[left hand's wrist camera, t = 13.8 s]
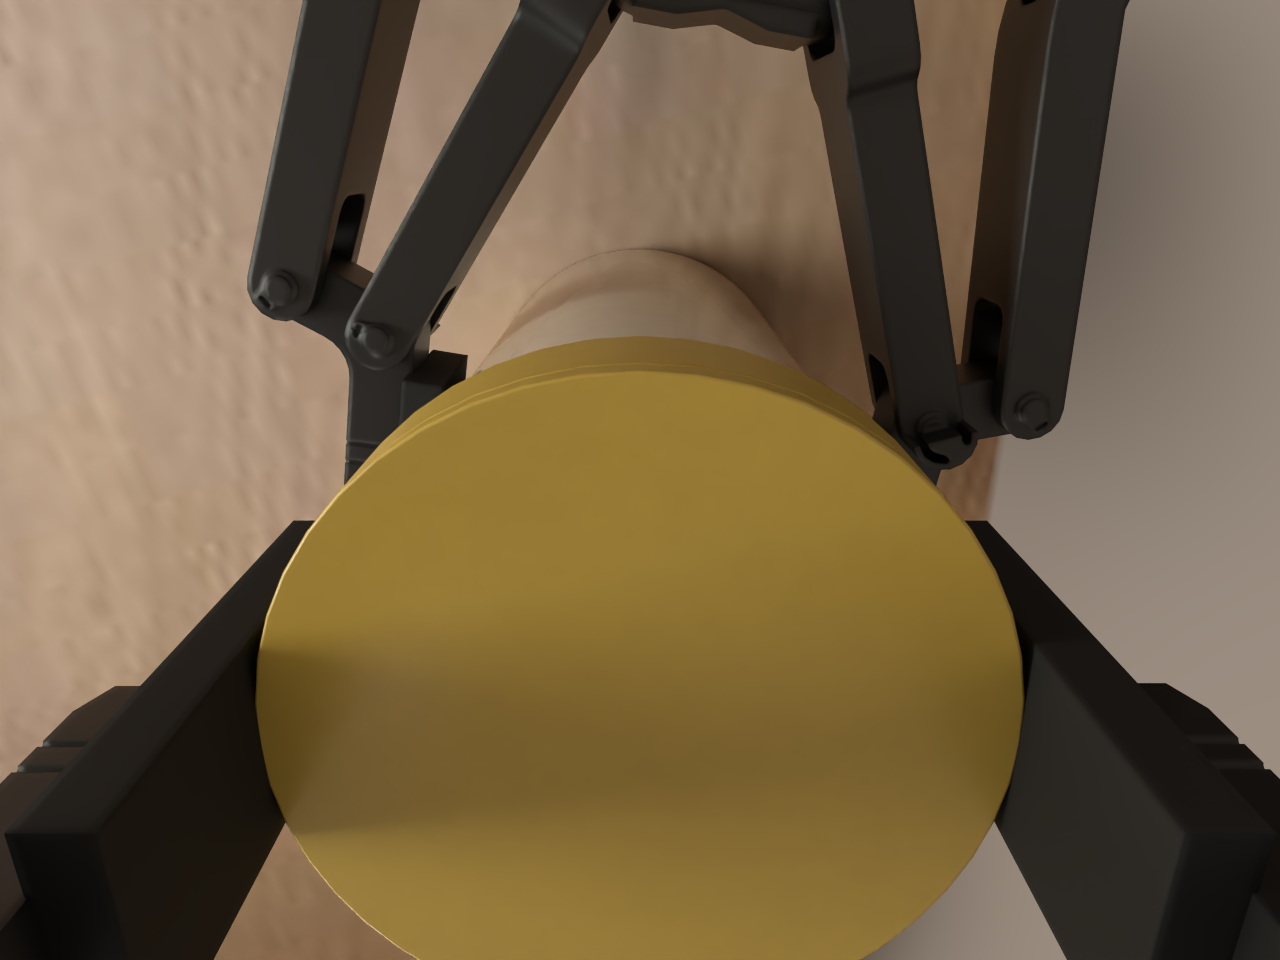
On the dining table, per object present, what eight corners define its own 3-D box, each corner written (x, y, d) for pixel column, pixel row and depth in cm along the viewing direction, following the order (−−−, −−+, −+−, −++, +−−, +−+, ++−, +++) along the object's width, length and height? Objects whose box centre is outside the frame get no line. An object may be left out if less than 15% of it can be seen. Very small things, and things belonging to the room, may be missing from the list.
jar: (486, 249, 24) (257, 403, 9) (790, 248, 24) (1020, 400, 9) (504, 527, 27) (348, 969, 12) (775, 526, 27) (933, 967, 12)
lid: (261, 336, 11) (188, 373, 9) (1016, 332, 11) (1088, 369, 9) (350, 913, 14) (309, 1021, 12) (931, 911, 14) (973, 1019, 12)
